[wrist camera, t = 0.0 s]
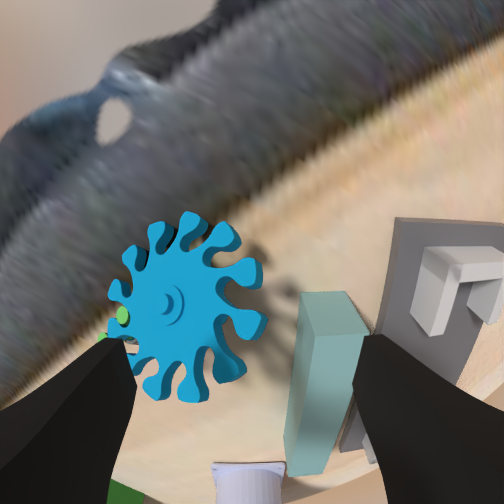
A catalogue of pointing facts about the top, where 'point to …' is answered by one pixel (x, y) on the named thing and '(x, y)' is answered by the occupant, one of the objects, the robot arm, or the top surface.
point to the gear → (184, 307)
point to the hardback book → (123, 494)
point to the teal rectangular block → (321, 378)
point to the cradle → (437, 298)
